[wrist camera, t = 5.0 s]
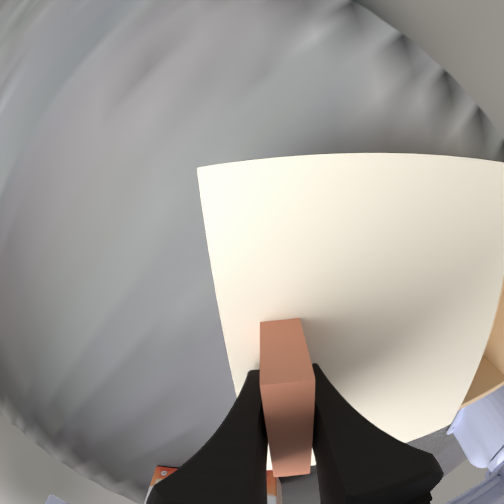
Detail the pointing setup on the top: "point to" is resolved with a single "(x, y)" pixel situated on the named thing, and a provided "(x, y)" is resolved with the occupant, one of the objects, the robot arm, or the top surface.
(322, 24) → the top surface
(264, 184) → the lid
